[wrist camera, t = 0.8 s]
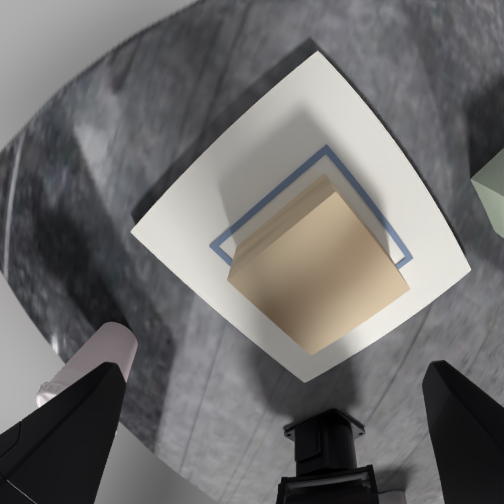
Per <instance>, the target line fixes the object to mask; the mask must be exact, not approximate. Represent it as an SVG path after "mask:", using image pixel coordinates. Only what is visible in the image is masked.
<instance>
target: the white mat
mask: <svg viewBox="0 0 504 504" xmlns="http://www.w3.org/2000/svg"><path fill="white" fill-rule="evenodd" d="M323 174H325V175H326V176H327V177H328V178H329V179H330V181H331V182H332V183H333V184H334V185H335V186H336V188H337V189H338V190H339V191H340V192H341V194H342V195H343V196H344V197H345V199H346V200H347V201H348V202H349V203H350V205H351V206H352V207H353V208H354V210H355V211H356V212H357V213H358V215H359V216H360V217H361V219H362V220H363V221H364V222H365V224H366V225H367V226H368V227H369V229H370V230H371V231H372V233H373V234H374V235H375V237H376V238H377V239H378V241H379V242H380V243H381V245H382V246H383V247H384V249H385V250H386V251H387V253H388V254H389V255H390V257H391V258H392V260H393V262H394V263H395V265H396V266H397V268H398V269H399V271H400V273H401V274H402V276H403V278H404V279H405V281H406V282H407V284H408V286H409V287H410V290H408V291H407V292H406V293H404V294H403V295H402V296H400V297H399V298H398V299H396V300H395V301H393V302H392V303H391V304H389V305H388V306H386V307H385V308H384V309H382V310H381V311H379V312H378V313H377V314H375V315H374V316H372V317H371V318H369V319H368V320H366V321H365V322H363V323H362V324H360V325H359V326H357V327H356V328H354V329H353V330H351V331H350V332H348V333H347V334H345V335H344V336H342V337H341V338H339V339H337V340H336V341H334V342H333V343H331V344H330V345H328V346H326V347H325V348H323V349H322V350H320V351H318V352H317V353H315V354H313V355H312V356H311V355H310V354H309V353H307V352H306V351H305V350H304V349H303V348H302V347H301V346H299V345H298V344H297V343H296V342H295V341H294V340H293V339H291V338H290V337H289V336H288V335H287V334H286V333H285V332H284V331H282V330H281V329H280V328H279V327H278V326H277V325H276V324H275V323H273V322H272V321H271V320H270V319H269V318H268V317H267V316H266V315H264V314H263V313H262V312H261V311H260V310H259V309H258V308H257V307H256V306H254V305H253V304H252V303H251V302H250V301H249V300H248V299H247V298H246V297H245V296H243V295H242V294H241V293H240V292H239V291H238V290H237V289H236V288H235V287H234V286H233V285H231V284H230V283H229V282H228V281H227V278H228V275H229V271H230V268H231V264H232V261H233V257H234V254H235V250H236V247H237V246H239V245H240V244H241V243H242V242H243V241H244V240H246V239H247V238H248V237H249V236H250V235H251V234H253V233H254V232H255V231H256V230H257V229H259V228H260V227H261V226H262V225H263V224H264V223H266V222H267V221H268V220H269V219H270V218H271V217H273V216H274V215H275V214H276V213H277V212H279V211H280V210H281V209H282V208H283V207H285V206H286V205H287V204H288V203H289V202H290V201H292V200H293V199H294V198H295V197H296V196H298V195H299V194H300V193H301V192H302V191H304V190H305V189H306V188H307V187H308V186H310V185H311V184H312V183H313V182H314V181H315V180H317V179H318V178H319V177H320V176H321V175H323ZM131 233H132V234H133V235H134V236H135V237H136V238H137V239H138V240H139V241H140V242H141V243H142V244H143V245H145V246H146V247H147V248H148V249H149V250H150V251H151V252H152V253H153V254H154V255H155V256H156V257H157V258H158V259H159V260H160V261H162V262H163V263H164V264H165V265H166V266H167V267H168V268H169V269H170V270H171V271H172V272H173V273H175V274H176V275H177V276H178V277H179V278H180V279H181V280H182V281H183V282H184V283H186V284H187V285H188V286H189V287H190V288H191V289H192V290H193V291H195V292H196V293H197V294H198V295H199V296H200V297H201V298H202V299H204V300H205V301H206V302H207V303H208V304H209V305H210V306H212V307H213V308H214V309H215V310H216V311H217V312H218V313H220V314H221V315H222V316H223V317H224V318H225V319H227V320H228V321H229V322H230V323H231V324H232V325H234V326H235V327H236V328H237V329H238V330H240V331H241V332H242V333H243V334H244V335H246V336H247V337H248V338H249V339H250V340H252V341H253V342H254V343H255V344H256V345H258V346H259V347H260V348H261V349H263V350H264V351H265V352H266V353H267V354H269V355H270V356H271V357H272V358H274V359H275V360H276V361H277V362H279V363H280V364H281V365H282V366H284V367H285V368H286V369H287V370H289V371H290V372H291V373H292V374H294V375H295V376H296V377H298V378H299V379H300V380H301V381H303V382H304V383H306V382H308V381H310V380H311V379H313V378H315V377H317V376H319V375H320V374H322V373H324V372H326V371H327V370H329V369H331V368H332V367H334V366H336V365H338V364H339V363H341V362H343V361H344V360H346V359H348V358H349V357H351V356H353V355H354V354H356V353H357V352H359V351H361V350H362V349H364V348H365V347H367V346H368V345H370V344H372V343H373V342H375V341H376V340H378V339H379V338H381V337H382V336H384V335H385V334H387V333H388V332H390V331H391V330H393V329H394V328H396V327H397V326H399V325H400V324H401V323H403V322H404V321H406V320H407V319H409V318H410V317H411V316H413V315H414V314H416V313H417V312H418V311H420V310H421V309H422V308H424V307H425V306H426V305H428V304H429V303H430V302H432V301H433V300H434V299H436V298H437V297H438V296H440V295H441V294H442V293H444V292H445V291H446V290H447V289H449V288H450V287H451V286H452V285H454V284H455V283H456V282H457V281H459V280H460V279H461V278H462V277H463V276H465V275H466V274H467V273H468V272H470V271H471V269H470V266H469V264H468V262H467V260H466V258H465V256H464V254H463V252H462V250H461V248H460V246H459V244H458V243H457V241H456V239H455V237H454V235H453V233H452V231H451V229H450V228H449V226H448V224H447V222H446V220H445V219H444V217H443V215H442V213H441V212H440V210H439V208H438V207H437V205H436V203H435V202H434V200H433V198H432V197H431V195H430V193H429V192H428V190H427V189H426V187H425V185H424V184H423V182H422V181H421V179H420V178H419V176H418V174H417V173H416V171H415V170H414V168H413V167H412V165H411V164H410V162H409V161H408V160H407V158H406V157H405V155H404V154H403V152H402V151H401V150H400V148H399V147H398V145H397V144H396V143H395V141H394V140H393V138H392V137H391V136H390V134H389V133H388V132H387V130H386V129H385V128H384V126H383V125H382V124H381V122H380V121H379V120H378V119H377V117H376V116H375V115H374V114H373V112H372V111H371V110H370V109H369V107H368V106H367V105H366V104H365V102H364V101H363V100H362V99H361V98H360V96H359V95H358V94H357V93H356V92H355V90H354V89H353V88H352V87H351V86H350V85H349V84H348V82H347V81H346V80H345V79H344V78H343V77H342V76H341V74H340V73H339V72H338V71H337V70H336V69H335V68H334V67H333V66H332V65H331V64H330V63H329V61H328V60H327V59H326V58H325V57H324V56H323V55H322V54H321V53H320V52H319V51H317V52H316V53H314V54H313V55H312V56H310V57H309V58H308V59H307V60H306V61H304V62H303V63H302V64H301V65H299V66H298V67H297V68H296V69H295V70H293V71H292V72H291V73H290V74H289V75H287V76H286V77H285V78H284V79H283V80H281V81H280V82H279V83H278V84H277V85H276V86H274V87H273V88H272V89H271V90H270V91H269V92H268V93H266V94H265V95H264V96H263V97H262V98H261V99H260V100H259V101H257V102H256V103H255V104H254V105H253V106H252V107H251V108H250V109H249V110H247V111H246V112H245V113H244V114H243V115H242V116H241V117H240V118H239V119H238V120H237V121H236V122H235V123H233V124H232V125H231V126H230V127H229V128H228V129H227V130H226V131H225V132H224V133H223V134H222V135H221V136H220V137H219V138H218V139H217V140H216V141H215V142H214V143H213V144H212V145H211V146H210V147H209V148H208V149H207V150H206V151H205V152H204V153H203V154H202V155H201V156H200V157H199V158H198V159H197V160H196V161H195V162H194V163H193V164H192V165H191V166H190V167H189V168H188V169H187V170H186V171H185V172H184V173H183V174H182V175H181V176H180V177H179V178H178V179H177V180H176V182H175V183H174V184H173V185H172V186H171V187H170V188H169V189H168V190H167V191H166V192H165V193H164V194H163V196H162V197H161V198H160V199H159V200H158V201H157V202H156V203H155V204H154V205H153V207H152V208H151V209H150V210H149V211H148V212H147V213H146V214H145V216H144V217H143V218H142V219H141V220H140V221H139V222H138V224H137V225H136V226H135V227H134V228H133V229H132V231H131Z"/></svg>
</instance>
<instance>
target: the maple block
mask: <svg viewBox="0 0 504 504" xmlns="http://www.w3.org/2000/svg"><path fill="white" fill-rule="evenodd" d="M227 281H228V282H229V283H230V284H231V285H233V286H234V287H235V288H236V289H237V290H238V291H239V292H240V293H241V294H242V295H243V296H245V297H246V298H247V299H248V300H249V301H250V302H251V303H252V304H253V305H254V306H256V307H257V308H258V309H259V310H260V311H261V312H262V313H263V314H264V315H266V316H267V317H268V318H269V319H270V320H271V321H272V322H273V323H275V324H276V325H277V326H278V327H279V328H280V329H281V330H282V331H284V332H285V333H286V334H287V335H288V336H289V337H290V338H291V339H293V340H294V341H295V342H296V343H297V344H298V345H299V346H301V347H302V348H303V349H304V350H305V351H306V352H307V353H309V354H310V355H311V356H312V355H313V354H315V353H317V352H318V351H320V350H322V349H323V348H325V347H326V346H328V345H330V344H331V343H333V342H334V341H336V340H337V339H339V338H341V337H342V336H344V335H345V334H347V333H348V332H350V331H351V330H353V329H354V328H356V327H357V326H359V325H360V324H362V323H363V322H365V321H366V320H368V319H369V318H371V317H372V316H374V315H375V314H377V313H378V312H379V311H381V310H382V309H384V308H385V307H386V306H388V305H389V304H391V303H392V302H393V301H395V300H396V299H398V298H399V297H400V296H402V295H403V294H404V293H406V292H407V291H408V290H410V287H409V286H408V284H407V282H406V281H405V279H404V278H403V276H402V274H401V273H400V271H399V269H398V268H397V266H396V265H395V263H394V262H393V260H392V258H391V257H390V255H389V254H388V253H387V251H386V250H385V249H384V247H383V246H382V245H381V243H380V242H379V241H378V239H377V238H376V237H375V235H374V234H373V233H372V231H371V230H370V229H369V227H368V226H367V225H366V224H365V222H364V221H363V220H362V219H361V217H360V216H359V215H358V213H357V212H356V211H355V210H354V208H353V207H352V206H351V205H350V203H349V202H348V201H347V200H346V199H345V197H344V196H343V195H342V194H341V192H340V191H339V190H338V189H337V188H336V186H335V185H334V184H333V183H332V182H331V181H330V179H329V178H328V177H327V176H326V175H325V174H323V175H321V176H320V177H319V178H318V179H317V180H315V181H314V182H313V183H312V184H311V185H310V186H308V187H307V188H306V189H305V190H304V191H302V192H301V193H300V194H299V195H298V196H296V197H295V198H294V199H293V200H292V201H290V202H289V203H288V204H287V205H286V206H285V207H283V208H282V209H281V210H280V211H279V212H277V213H276V214H275V215H274V216H273V217H271V218H270V219H269V220H268V221H267V222H266V223H264V224H263V225H262V226H261V227H260V228H259V229H257V230H256V231H255V232H254V233H253V234H251V235H250V236H249V237H248V238H247V239H246V240H244V241H243V242H242V243H241V244H240V245H239V246H237V247H236V250H235V254H234V257H233V261H232V264H231V268H230V271H229V275H228V278H227Z"/></svg>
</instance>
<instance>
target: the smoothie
mask: <svg viewBox="0 0 504 504" xmlns="http://www.w3.org/2000/svg"><path fill="white" fill-rule="evenodd" d="M137 346H138V343H137V339H136V337H135V336H134V334H133V333H132V332H131V331H130V330H129V329H128V328H127V327H125V326H124V325H122V324H119V323H116V322H107V323H105V324H103V325H102V326H101V327H100V328H99V329H98V330H97V332H96V333H95V334H94V335H93V336H92V337H91V338H90V339H89V340H88V341H87V342H86V343H85V344H84V345H83V346H82V347H81V348H80V350H79V351H78V352H77V353H76V354H75V355H74V356H73V357H72V358H71V359H70V360H69V361H68V362H67V364H66V365H65V366H64V367H63V368H62V369H61V370H60V371H59V372H58V373H57V374H56V376H55V377H54V378H53V379H52V380H51V382H45V383H44V384H42V385H41V387H40V390H39V391H38V393H37V394H36V397H35V399H36V403H37V405H38V407H41V406H42V405H44V404H45V403H46V402H48V401H49V400H51V399H52V398H53V397H55V396H56V395H58V394H59V393H61V392H62V391H63V390H65V389H66V388H68V387H69V386H70V385H72V384H73V383H75V382H76V381H77V380H79V379H80V378H82V377H83V376H84V375H86V374H87V373H89V372H90V371H92V370H93V369H94V368H96V367H97V366H99V365H100V364H101V363H103V362H106V361H107V362H114V363H117V364H118V365H119V367H120V370H121V372H122V374H123V376H124V379H125V381H126V382H127V378H128V375H129V372H130V369H131V365H132V362H133V359H134V356H135V353H136V349H137ZM116 431H117V430H116ZM115 435H116V434H115Z"/></svg>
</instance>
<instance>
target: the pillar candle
mask: <svg viewBox="0 0 504 504" xmlns="http://www.w3.org/2000/svg"><path fill="white" fill-rule="evenodd" d="M378 497H379V504H407V503H406V497H405V493H404V492H403V491H389V492H385V493H381V494H378Z"/></svg>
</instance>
